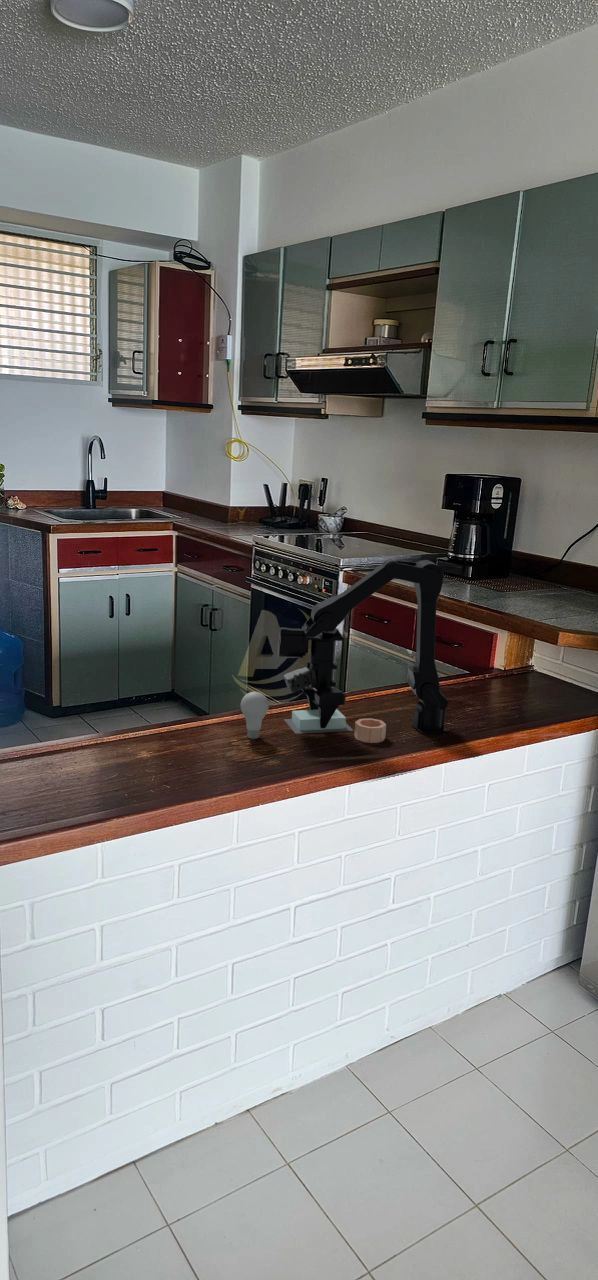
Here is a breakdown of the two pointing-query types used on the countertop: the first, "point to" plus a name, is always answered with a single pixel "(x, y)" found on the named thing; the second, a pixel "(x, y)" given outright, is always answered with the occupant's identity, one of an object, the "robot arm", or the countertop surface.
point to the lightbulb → (254, 712)
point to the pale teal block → (316, 720)
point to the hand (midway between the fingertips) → (318, 723)
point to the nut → (370, 730)
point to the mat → (296, 730)
